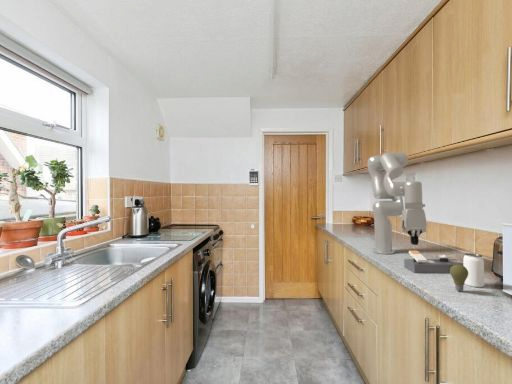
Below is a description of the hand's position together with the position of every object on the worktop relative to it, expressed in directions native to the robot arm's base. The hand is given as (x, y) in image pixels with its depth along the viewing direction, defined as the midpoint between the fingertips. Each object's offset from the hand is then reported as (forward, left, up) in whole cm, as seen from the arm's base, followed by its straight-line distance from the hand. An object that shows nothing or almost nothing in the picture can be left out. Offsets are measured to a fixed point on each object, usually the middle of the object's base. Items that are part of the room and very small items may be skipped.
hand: (414, 244), depth 135 cm
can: (+24, +11, -12) cm, 29 cm away
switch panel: (+3, +8, -12) cm, 14 cm away
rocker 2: (+3, +12, -5) cm, 13 cm away
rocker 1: (+3, 0, -5) cm, 6 cm away
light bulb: (+31, +1, -12) cm, 33 cm away
